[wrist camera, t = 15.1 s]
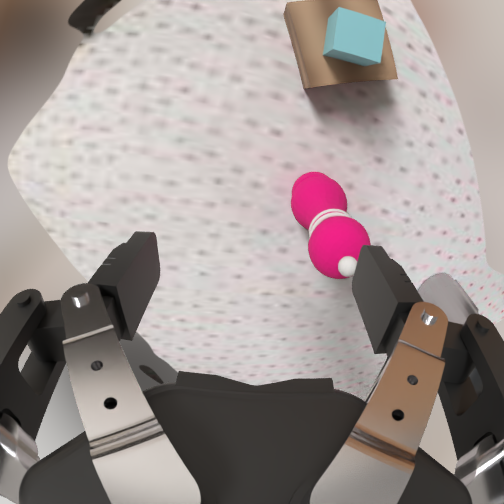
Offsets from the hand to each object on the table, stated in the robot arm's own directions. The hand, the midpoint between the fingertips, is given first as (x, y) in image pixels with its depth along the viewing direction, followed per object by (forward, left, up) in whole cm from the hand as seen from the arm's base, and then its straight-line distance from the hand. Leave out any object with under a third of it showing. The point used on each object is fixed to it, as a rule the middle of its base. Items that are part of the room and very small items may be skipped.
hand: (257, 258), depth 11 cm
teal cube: (-9, -14, -24) cm, 30 cm away
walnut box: (-9, -14, -30) cm, 35 cm away
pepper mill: (-8, +7, -30) cm, 32 cm away
